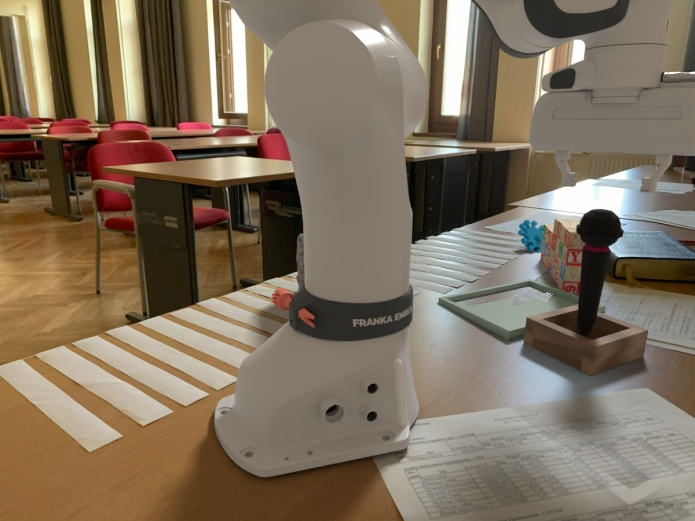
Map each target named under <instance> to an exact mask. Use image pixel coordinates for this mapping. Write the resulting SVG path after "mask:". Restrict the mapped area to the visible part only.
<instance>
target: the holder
mask: <svg viewBox="0 0 695 521" xmlns="http://www.w3.org/2000/svg"><path fill="white" fill-rule="evenodd" d="M577 315H578V304H577V305H573V306H569V307H565V308H561V309H557V310H553V311H549V312H545V313H541V314H537V315H533V316H529V317H526V326H525V335H524V336H523V344H525V345H527V346H529V347H531V348H532V349H535V350H537V351H539V352H541V353H543V354H545V355H548V356H549V357H552V358H554V359H556V360H558V361H560V362H562V363H564V364H566V365H568V366H570V367H572V368H574V369H576V370H578V371H580V372H582V373H583V374H584V373H585V374H587V375H589V376H591V377H592V376H595V375H597V374H600V373H603V372H606V371H609V370H612V369H614V368H617V367H619V366H623V365H626V364H628V363H631V362H634V361H636V360H637V361H638V360H639V359H642V358H644V356H645V352H646V346H647V340H648V334H649V329H647V328H643V327H640V326H638V325H635V324H632V323H629V322H627V321H624V320H622V319H619V318H616V317H613V316H611V315H608V314H606V313H605V314H603V313H600V312H597V317H596V322H595V326H592V332H590V334H589V338H587V337H584V336H582V335H580V334H579V330H578V325H579V324H577Z"/></svg>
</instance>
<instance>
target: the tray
mask: <svg viewBox="0 0 695 521" xmlns="http://www.w3.org/2000/svg"><path fill="white" fill-rule="evenodd" d="M528 286H531V287H533V288H536V289H538V290H539V291H542V292H545V291H546V292H548V293H551V295H552V294H553V295H552V296H551V297H550V298H549V299H548V301H547V303H546V302H545V301H544V303H543V302H542V301H543V299H542V301H540V299H539V301H538V298H537V299H536V301H535V299H533V302H532V301H531V300H532V299H531V300H530V302H529V301H528V304H526V303H525V304H526V305H525V304H523V305H522V304H521V305H519V306H518V305H517V306H516V305H514V306H513V305H512V306H511V305H510V304H509V305H508V304H507V301H508V300H509V299H511V298H512V297H510V298H504V299H500V300H494V301H488V302H483V303H477V304H472V305H467V306H463V305H461V304H459V303H456V302H457V301H462V300H466V299H472V298H475V297H480V296H486V295H490V294H494V293H495V294H496V293H499V292H500V293H501V292H504V291H509V290H513V289H519V288H523V287H528ZM549 296H550V295H549ZM535 298H536V297H535ZM547 298H548V297H547ZM545 300H546V299H545ZM437 301H438V303H439V304H441V305H442V306H444V307H446V308H448V309H450V310H452V311H453V312H455V313H457V314H459V315H461V316H462V317H464V318H465V319H467V320H470V321H471V322H474V323H475V324H477V325H479V326H481V327H483V328H484V329H486V330H487V331H490V332H492V333H493V334H495V333H496V335H497V334H498V335H497V336H499V335H500V336H499V337H501V336H502V337H501V338H503V337H504V338H506V339H507V340H506V339H505V340H506V341H508V340H509V341H511V340H510V339H512V340H515V339H514V338H516V339H519V338H523V337H524V335H525V326H526V317H529V316H533V315H537V314H541V313H545V312H549V311H553V310H557V309H561V308H565V307H569V306H573V305H577V304H578V301H579V295H578V294H573V293H568V292H565V291H562V290H560V289H559V288H558V287H557V288H556V287H553V286H550V285H547V284H546V283H542V282H539V281H536V280H533V279H531V278H529V279H524V280H519V281H514V282H509V283H504V284H500V285H498V284H497V285H494V286H489V287H485V288H480V289H475V290H470V291H465V292H460V293H459V292H458V293H454V294H450V295H449V294H448V295H446V296H445V295H444V296H440V297H438V300H437ZM606 309H607V305H605V304H603V303H601V302H600V303H599V308H598V312H600V313H605V314H606ZM522 336H523V337H522ZM518 337H519V338H518ZM504 338H503V339H504Z"/></svg>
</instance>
